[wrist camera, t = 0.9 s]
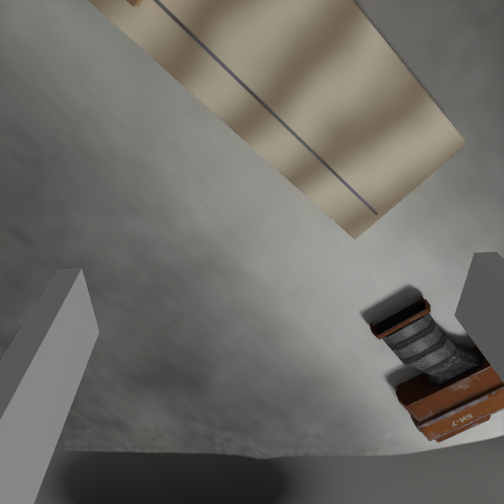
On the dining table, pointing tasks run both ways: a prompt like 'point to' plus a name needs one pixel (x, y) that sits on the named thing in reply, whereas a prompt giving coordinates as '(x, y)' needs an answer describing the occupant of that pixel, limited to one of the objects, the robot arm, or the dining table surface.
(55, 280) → the robot arm
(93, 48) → the dining table surface
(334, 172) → the board
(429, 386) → the tool
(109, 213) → the dining table surface
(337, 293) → the dining table surface
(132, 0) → the brown block with tab
